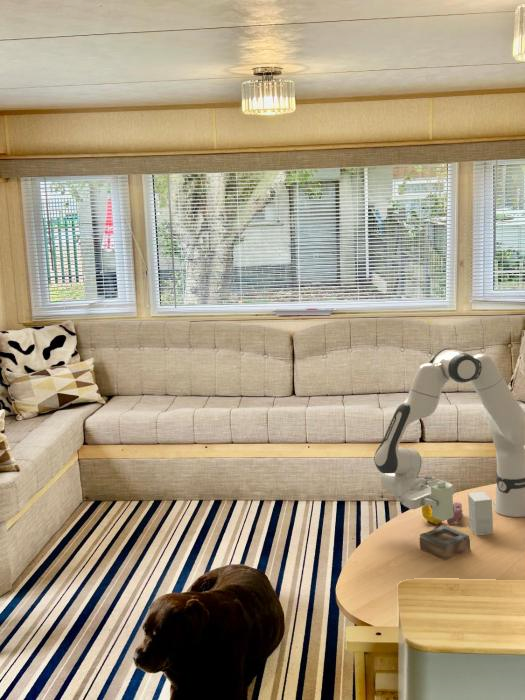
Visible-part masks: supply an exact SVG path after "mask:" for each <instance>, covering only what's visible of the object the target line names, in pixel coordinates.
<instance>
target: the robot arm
mask: <svg viewBox="0 0 525 700" xmlns="http://www.w3.org/2000/svg"><path fill="white" fill-rule="evenodd" d="M448 381H454V382H456V383H461V384H462V383H468V382H469V383H470V382H471V384H472V386H473V389H474V391H475V392H476V394H477V396H478V398H479V401H481V404H482V406H483V407H484V409H485V410H486V411H487V412H488V414H487V416H486V421H487V424H488V426H489V429H490V433H491V437H492V438H491V439H492V441H493V445H494V450H495V454H496V455H495V456H496V472H497V473H496V475H495V479H496V487H495V500H493V505H494V511H495V512H496V513H498V514H499V515H501V516H505V517H511V518H512V517H514V518H515V517H517V518H519V517H520V518H521V517H525V411H524V409H523V408H522V406H521V405H520V403H519V402H518V401H517V399H516V397H515V396H514V394H513V393H512V392H511V390H510V387H509V386H508V384H507V382H506V380H505V378H504V376H503V374H502V372H501V371H500V369H499V367H498V365H497V364H496V363H495V362H494V360H493V358H492V357H491V356H489V354H486V353H477V354H475V355H471V354H469V353H466V352H464V351H461V350H459V349H453V348H443V349H440V350H439V351H437V352H436V353H435V354H434V356H433V358H431V360H430V361H429V362H425V363H422V364H420V365H419V367H418V368H417V370H416V372H415V374H414V376H413V380H412V381H411V384H410V389H409V390H408V394H407V396H406V398H405V399H404V401H403V402H402V403H401V404H400V405H398V407H397V408H396V410H395V412H394V414H393V416H392V418H391V420H390V422H389V425H388V427H387V430H386V432H385V434H384V437H383V439H382V440H381V443H380V445H379V446H378V447H377V449H376V451H375V453H374V456H373V461H374V466H375V467H376V469H377V470H378V472H380V473H381V475H380V484H381V486H382V488H383V489H384V490H385V491H386V492H388V493H390V494H392V495H393V496H396V501H397V502H399V503H401V504H402V505H403V506H404V507H406V508H408V509H410V510H417V509H420V508H422V506H425V505H431V506H438V505H439V504H438V503H439V502H438V500H435V499H434V500H432V499H431V487H432V486H434V485H437V482H440V481H443V482H445V484H446V485H449V486H451V487H452V496H454V495H455V493H454V492H455V489H454V484H452V483H451V482H448V481H445V480H443V479H437V478H436V476H433V475H432V476H423V477H419V474H420V471H421V468H422V458H421V457H422V456H421V454H420V453H419V452H418V451H417V450H416V449H414V448H408V447H399V446H400V444H401V443H400V442H401V440H402V438H403V436H404V434H405V431H406V429H407V427H408V426H409V425H410V424H412V423H413V422H415V421H418V420H422V419H425V418H428V417H430V416H432V415H433V414H434V413H435V412H436V409H437V408H438V406H439V402H440V398H441V394H442V392H443V391H442V390H443V388H444V386H445V385H446V383H447V382H448Z"/></svg>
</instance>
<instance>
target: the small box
mask: <svg viewBox="0 0 525 700" xmlns="http://www.w3.org/2000/svg"><path fill="white" fill-rule="evenodd" d="M467 498H468V499H467V500H468V502H467V503H468V516H469V517H468V520H469V523H468V524H469V528H470V529H471V530H472V532H473V533H474V534H475V536H483V535H492V534H494V526H493V525H494V521H493V504H492V503H493V499H492V498H491V497H490V496H489V495H488V494H487V492H485V491H479V492H469V493H467Z"/></svg>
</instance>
